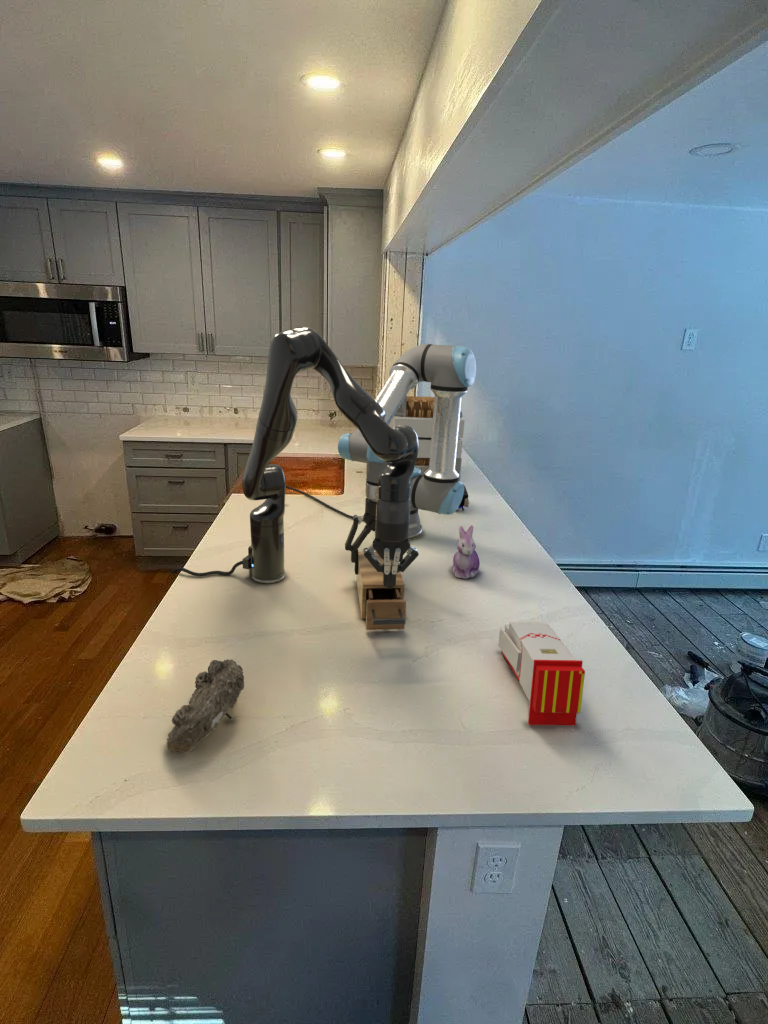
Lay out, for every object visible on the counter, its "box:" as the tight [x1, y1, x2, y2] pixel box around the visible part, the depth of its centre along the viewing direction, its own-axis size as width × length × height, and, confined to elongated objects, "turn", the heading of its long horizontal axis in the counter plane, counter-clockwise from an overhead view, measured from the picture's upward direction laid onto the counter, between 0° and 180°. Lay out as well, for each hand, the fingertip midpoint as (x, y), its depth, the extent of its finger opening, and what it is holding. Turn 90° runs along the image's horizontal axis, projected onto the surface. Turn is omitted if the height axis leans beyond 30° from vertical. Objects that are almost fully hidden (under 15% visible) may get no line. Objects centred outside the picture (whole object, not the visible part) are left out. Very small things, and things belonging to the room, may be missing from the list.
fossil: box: [166, 658, 245, 754], centre depth 106 cm, size 22×10×15 cm
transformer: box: [389, 395, 465, 482], centre depth 268 cm, size 34×33×41 cm
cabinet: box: [355, 551, 405, 619], centre depth 153 cm, size 20×11×10 cm, turn 6°
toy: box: [497, 621, 586, 727], centre depth 121 cm, size 12×13×30 cm
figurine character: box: [455, 485, 470, 512], centre depth 229 cm, size 7×8×15 cm
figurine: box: [451, 524, 481, 580], centre depth 170 cm, size 9×10×15 cm
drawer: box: [365, 588, 407, 631], centre depth 143 cm, size 25×9×8 cm, turn 6°
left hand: (389, 587), depth 131 cm, fingers closed
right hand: (376, 572), depth 159 cm, fingers closed on cabinet, 11 cm apart
